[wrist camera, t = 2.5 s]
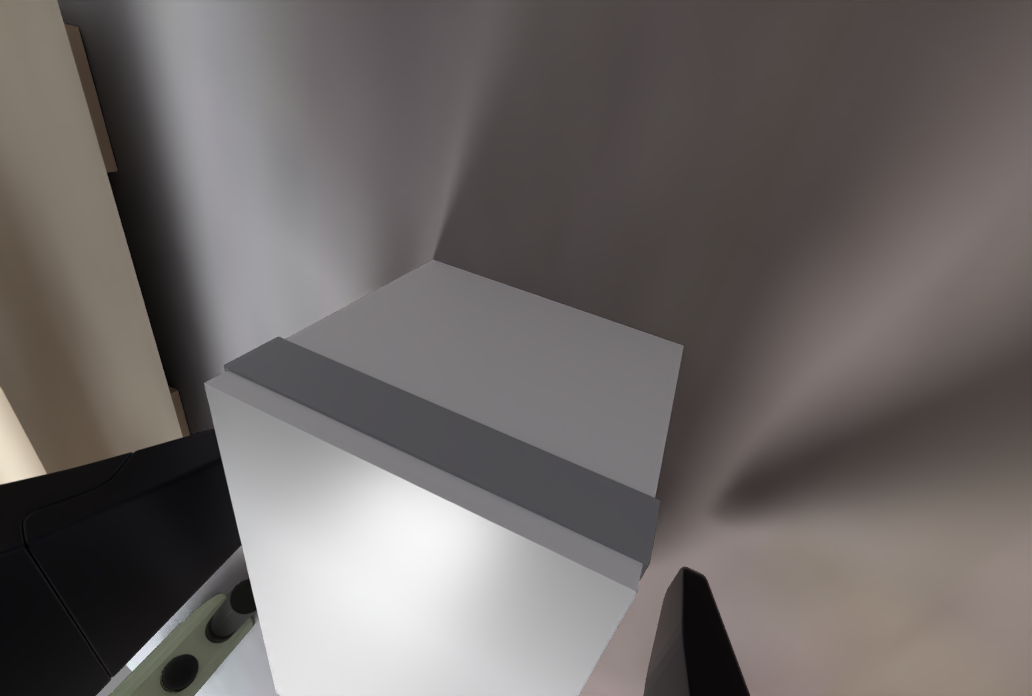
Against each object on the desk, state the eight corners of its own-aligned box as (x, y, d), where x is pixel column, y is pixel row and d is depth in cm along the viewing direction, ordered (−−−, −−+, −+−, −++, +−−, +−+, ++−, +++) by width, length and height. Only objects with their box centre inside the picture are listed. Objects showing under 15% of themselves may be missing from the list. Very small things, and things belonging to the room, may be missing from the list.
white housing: (688, 341, 8) (644, 591, 4) (575, 595, 12) (498, 840, 8) (433, 254, 9) (199, 378, 5) (411, 513, 14) (274, 692, 9)
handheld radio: (166, 654, 34) (242, 540, 19) (201, 682, 34) (303, 590, 20) (61, 764, 28) (57, 720, 14) (104, 796, 29) (144, 786, 14)
